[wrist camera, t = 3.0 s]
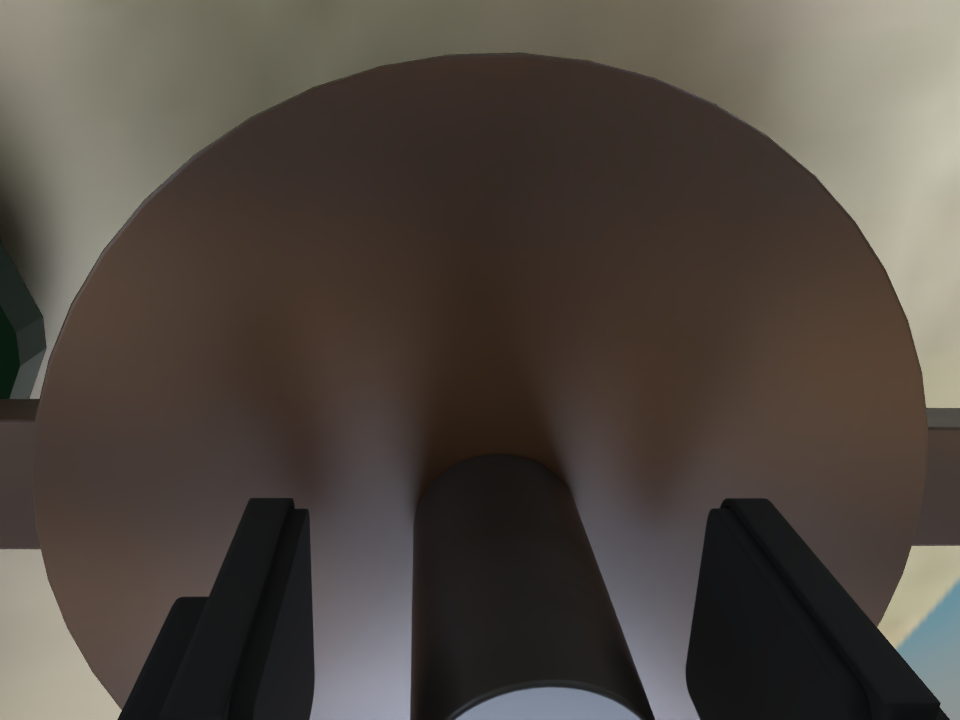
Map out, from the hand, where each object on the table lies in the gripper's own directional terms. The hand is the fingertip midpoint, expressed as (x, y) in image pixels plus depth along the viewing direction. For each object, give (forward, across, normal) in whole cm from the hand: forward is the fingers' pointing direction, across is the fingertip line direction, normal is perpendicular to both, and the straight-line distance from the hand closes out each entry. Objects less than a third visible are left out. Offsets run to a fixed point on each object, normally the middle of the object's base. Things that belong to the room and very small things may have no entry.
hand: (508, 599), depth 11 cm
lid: (+2, 0, 0) cm, 2 cm away
